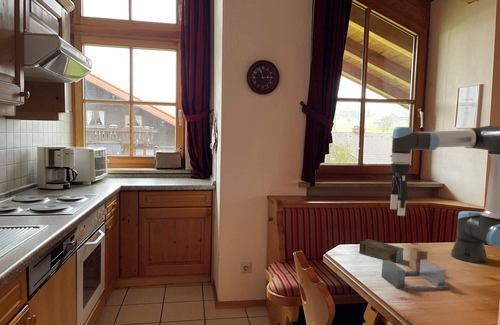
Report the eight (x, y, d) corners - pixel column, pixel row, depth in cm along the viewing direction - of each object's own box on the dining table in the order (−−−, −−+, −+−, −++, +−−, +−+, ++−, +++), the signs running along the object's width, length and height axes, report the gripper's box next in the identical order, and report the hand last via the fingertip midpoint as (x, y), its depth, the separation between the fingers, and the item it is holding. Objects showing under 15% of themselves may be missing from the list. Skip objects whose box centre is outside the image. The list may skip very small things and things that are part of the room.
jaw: (426, 275, 158) (427, 259, 158) (444, 287, 147) (446, 269, 146) (419, 275, 158) (420, 259, 157) (437, 287, 146) (438, 270, 146)
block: (419, 267, 168) (420, 247, 167) (426, 271, 163) (427, 251, 163) (408, 267, 167) (410, 248, 167) (415, 271, 163) (416, 251, 162)
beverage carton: (396, 264, 172) (397, 250, 172) (358, 253, 186) (358, 240, 185) (403, 260, 178) (404, 246, 178) (365, 250, 191) (366, 237, 191)
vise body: (424, 273, 161) (425, 257, 160) (449, 289, 145) (450, 271, 144) (379, 274, 158) (380, 258, 157) (399, 291, 142) (401, 273, 141)
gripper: (385, 160, 173) (382, 206, 175) (398, 165, 149) (394, 217, 150) (402, 161, 172) (399, 207, 174) (418, 166, 148) (414, 219, 149)
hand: (397, 212), depth 162 cm, fingers open, 13 cm apart
